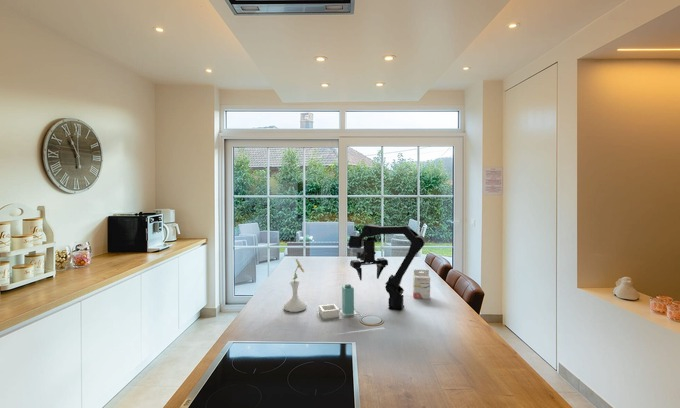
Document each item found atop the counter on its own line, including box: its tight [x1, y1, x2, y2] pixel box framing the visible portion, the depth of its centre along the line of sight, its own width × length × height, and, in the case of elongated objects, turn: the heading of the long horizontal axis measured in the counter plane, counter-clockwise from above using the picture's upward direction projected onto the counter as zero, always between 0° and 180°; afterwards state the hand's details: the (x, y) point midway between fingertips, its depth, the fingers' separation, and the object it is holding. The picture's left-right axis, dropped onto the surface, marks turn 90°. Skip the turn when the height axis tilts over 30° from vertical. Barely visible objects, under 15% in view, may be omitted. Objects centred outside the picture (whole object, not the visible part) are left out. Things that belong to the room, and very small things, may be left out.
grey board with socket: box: [315, 303, 362, 322], centre depth 162 cm, size 19×13×4 cm
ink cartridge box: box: [412, 269, 431, 299], centre depth 185 cm, size 9×5×15 cm, turn 84°
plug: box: [341, 284, 355, 314], centre depth 163 cm, size 4×4×13 cm
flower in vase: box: [283, 258, 308, 313], centre depth 169 cm, size 13×11×25 cm
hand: (369, 279), depth 174 cm, fingers open, 9 cm apart
